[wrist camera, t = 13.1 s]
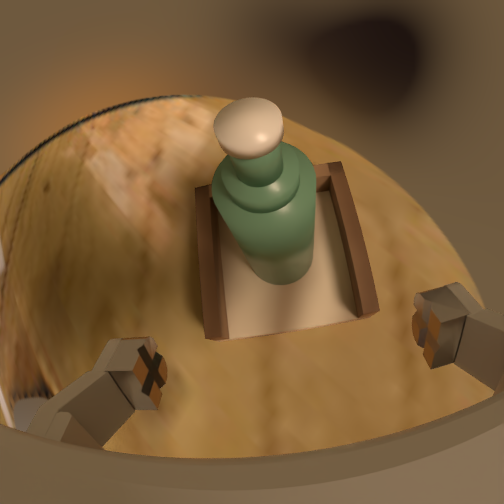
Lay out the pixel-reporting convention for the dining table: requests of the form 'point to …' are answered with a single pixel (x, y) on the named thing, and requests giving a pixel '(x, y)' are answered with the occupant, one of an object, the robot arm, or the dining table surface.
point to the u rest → (295, 294)
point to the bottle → (265, 191)
